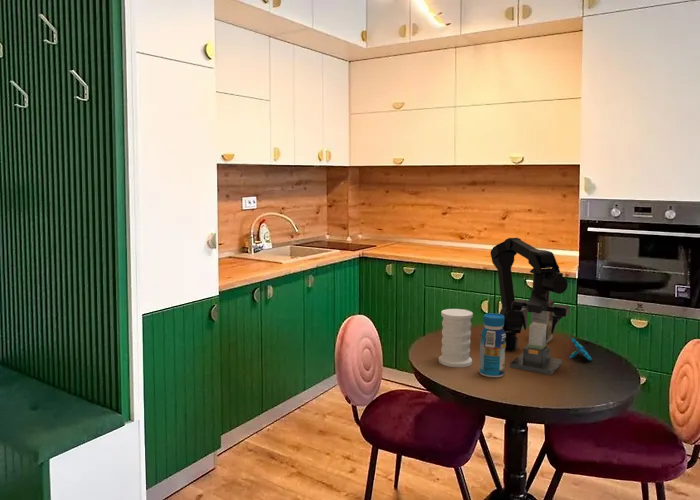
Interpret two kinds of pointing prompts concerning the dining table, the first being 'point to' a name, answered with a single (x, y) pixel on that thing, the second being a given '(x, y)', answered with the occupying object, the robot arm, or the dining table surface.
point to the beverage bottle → (492, 346)
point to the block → (537, 336)
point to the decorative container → (456, 338)
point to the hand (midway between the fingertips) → (538, 331)
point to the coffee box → (545, 320)
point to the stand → (536, 361)
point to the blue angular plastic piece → (579, 350)
